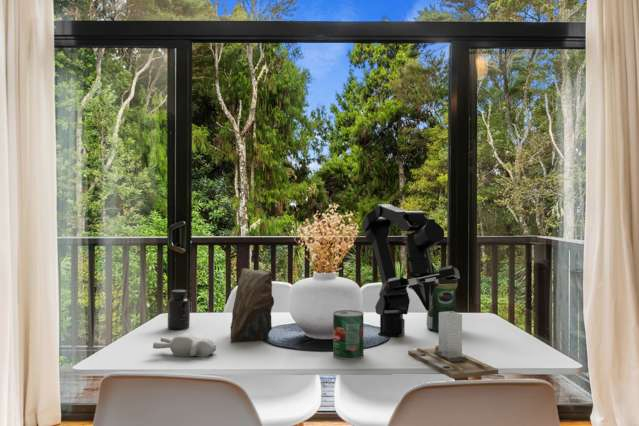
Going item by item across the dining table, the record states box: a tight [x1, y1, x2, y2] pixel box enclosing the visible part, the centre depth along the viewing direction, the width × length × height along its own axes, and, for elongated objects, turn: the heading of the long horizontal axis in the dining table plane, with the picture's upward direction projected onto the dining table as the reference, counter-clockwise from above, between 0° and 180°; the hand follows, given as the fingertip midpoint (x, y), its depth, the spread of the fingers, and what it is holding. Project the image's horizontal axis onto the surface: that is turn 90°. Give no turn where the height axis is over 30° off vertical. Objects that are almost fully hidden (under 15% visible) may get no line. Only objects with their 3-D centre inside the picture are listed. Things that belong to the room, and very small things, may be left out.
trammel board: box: [407, 344, 499, 380], centre depth 125 cm, size 21×12×3 cm, turn 18°
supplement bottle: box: [167, 289, 191, 331], centre depth 163 cm, size 7×7×12 cm
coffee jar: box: [426, 270, 459, 332], centre depth 163 cm, size 10×8×19 cm
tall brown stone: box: [230, 267, 275, 344], centre depth 151 cm, size 13×13×20 cm
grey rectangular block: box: [434, 311, 466, 362], centre depth 124 cm, size 6×7×11 cm
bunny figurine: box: [152, 333, 217, 358], centre depth 132 cm, size 10×5×15 cm
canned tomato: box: [332, 309, 365, 361], centre depth 132 cm, size 8×8×11 cm
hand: (428, 310), depth 135 cm, fingers closed
